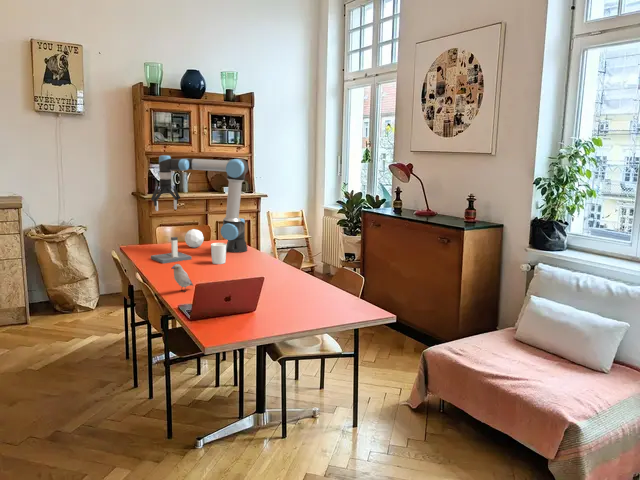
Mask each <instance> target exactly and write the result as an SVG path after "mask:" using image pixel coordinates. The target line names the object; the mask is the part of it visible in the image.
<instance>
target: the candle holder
mask: <svg viewBox="0 0 640 480" xmlns="http://www.w3.org/2000/svg"><path fill="white" fill-rule="evenodd" d="M226 245H227V243H225V242H213V243H211V244H210V248H211V249H210V251H211V252H210V253H211V263H212V264H214V265H223V264H226V258H227V251H226Z"/></svg>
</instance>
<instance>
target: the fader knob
mask: <svg viewBox="0 0 640 480" xmlns="http://www.w3.org/2000/svg"><path fill="white" fill-rule="evenodd" d="M178 240H179V239H178V237H177V236H172V237H170V242H171V245H170V246H171V253H172V257H173V258H174V257H178V252H179V250H178V247H179V246H178V244H179V243H178Z"/></svg>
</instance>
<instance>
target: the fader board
mask: <svg viewBox="0 0 640 480" xmlns="http://www.w3.org/2000/svg"><path fill="white" fill-rule="evenodd" d="M150 259H151V260H153V261H156V262H158V263H160V264H168V263H175V262H177V263H178V262H183V260H184V261H189V260H193V259H192V256H191V255H189V254H186V253H183V252H180V251H178V257H174V258H173V257H172V252H168V253H160V254H159V253H158V254H154V255H153V254H152V255H150Z"/></svg>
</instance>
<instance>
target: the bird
mask: <svg viewBox="0 0 640 480" xmlns="http://www.w3.org/2000/svg"><path fill="white" fill-rule="evenodd" d="M172 269H173V278H174V280H175V281H176V283H177V285H179V286H180V287H181V288H184V289H186V288H187V287H193V286H194V284H193V282H192V280H191V279H190V277H189V275H188V273H187V271H185V270H184V268H183V266H182V265H181V264H179V263H176V264H174V265H173V266H172V267H171V270H172ZM184 289H179V292H182V293H186V292H187V290H184Z"/></svg>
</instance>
